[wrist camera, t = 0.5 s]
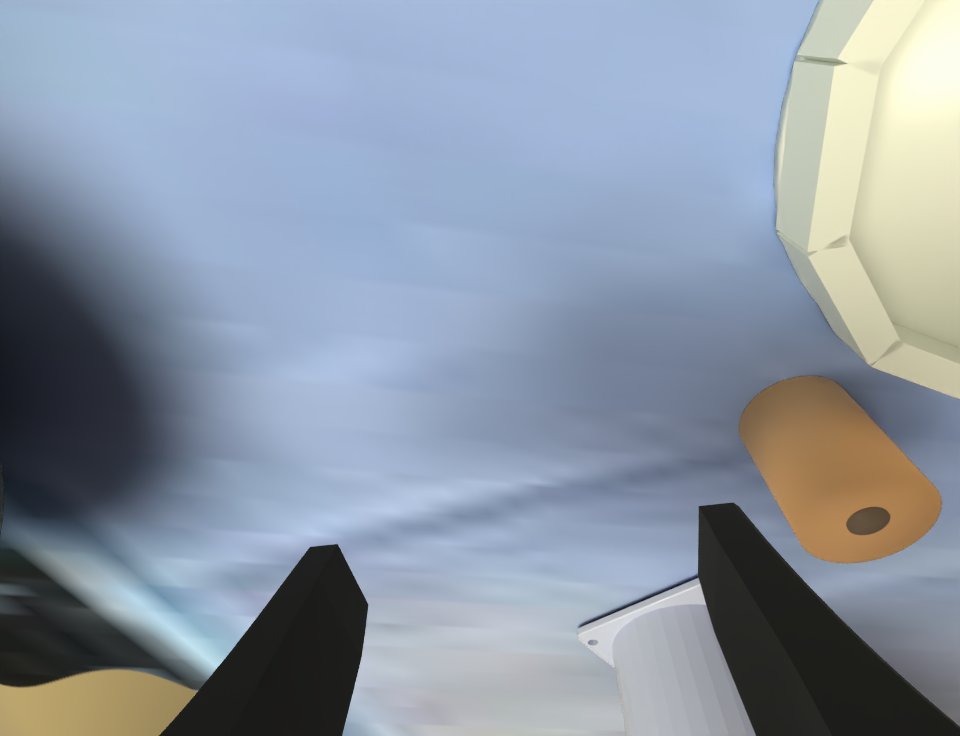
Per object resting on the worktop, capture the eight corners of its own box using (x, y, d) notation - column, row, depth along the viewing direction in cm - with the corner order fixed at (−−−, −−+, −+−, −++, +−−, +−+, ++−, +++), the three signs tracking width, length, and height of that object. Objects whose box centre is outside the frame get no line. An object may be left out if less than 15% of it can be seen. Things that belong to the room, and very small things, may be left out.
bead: (866, 425, 21) (960, 530, 16) (766, 473, 22) (828, 580, 18) (824, 356, 19) (916, 451, 15) (720, 412, 20) (776, 513, 16)
